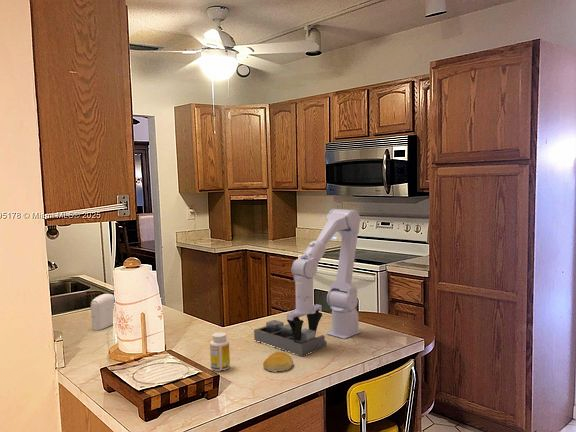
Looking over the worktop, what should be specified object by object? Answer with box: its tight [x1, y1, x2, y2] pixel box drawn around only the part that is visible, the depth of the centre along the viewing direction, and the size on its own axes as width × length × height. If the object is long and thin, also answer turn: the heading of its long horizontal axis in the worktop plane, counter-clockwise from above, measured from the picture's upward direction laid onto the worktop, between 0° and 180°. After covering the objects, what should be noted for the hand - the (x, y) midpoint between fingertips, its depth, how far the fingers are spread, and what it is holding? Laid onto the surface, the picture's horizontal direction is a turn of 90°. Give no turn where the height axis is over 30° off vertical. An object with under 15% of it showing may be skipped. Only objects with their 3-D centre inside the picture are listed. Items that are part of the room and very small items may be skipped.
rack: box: [253, 319, 328, 357], centre depth 167 cm, size 12×22×6 cm, turn 46°
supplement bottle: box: [209, 332, 231, 372], centre depth 147 cm, size 6×6×10 cm
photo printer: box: [90, 293, 115, 331], centre depth 190 cm, size 10×4×12 cm, turn 160°
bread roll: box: [262, 351, 294, 372], centre depth 147 cm, size 8×9×4 cm
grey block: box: [297, 327, 316, 343], centre depth 161 cm, size 4×4×5 cm
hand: (305, 337), depth 162 cm, fingers open, 7 cm apart
